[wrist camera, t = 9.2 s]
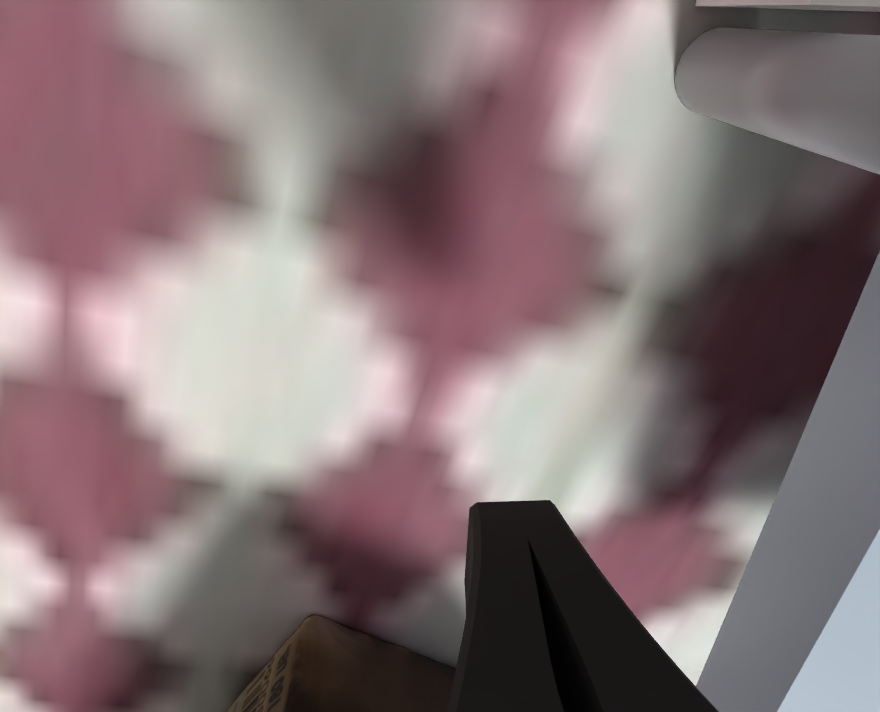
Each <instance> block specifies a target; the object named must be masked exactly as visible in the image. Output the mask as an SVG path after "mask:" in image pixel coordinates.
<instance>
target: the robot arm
mask: <svg viewBox="0 0 880 712" xmlns="http://www.w3.org/2000/svg"><path fill="white" fill-rule="evenodd" d="M465 597H466V621H465V627H464V632H463V637H462V642H461V647H460V652H459V657H458V662H457V667H456V672H455V677H454V681H453V686H452V690H451V694H450V698H449V702H448V706H447V710H446V712H719V711H718V710H717V709H716V708H715V707H714V706H713V705H712V704H711V703H710V702H709V701H708V699H707V698H706V697H705V696H704V695H703V694H702V693H701V692H700V691H699V690H698V689H697V688H696V686H695V685H694V684H693V683H692V682H691V681H690V680H689V679H688V678H687V676H686V675H685V674H684V673H683V672H682V671H681V670H680V669H679V667H678V666H677V665H676V664H675V663H674V662H673V660H672V659H671V658H670V657H669V656H668V655H667V654H666V652H665V651H664V650H663V649H662V648H661V647H660V645H659V644H658V643H657V642H656V641H655V640H654V638H653V637H652V636H651V635H650V633H649V632H648V631H647V630H646V629H645V627H644V626H643V625H642V624H641V623H640V621H639V620H638V619H637V618H636V616H635V615H634V614H633V612H632V611H631V610H630V609H629V607H628V606H627V605H626V604H625V602H624V601H623V600H622V598H621V597H620V596H619V595H618V593H617V592H616V591H615V590H614V588H613V587H612V586H611V584H610V583H609V582H608V580H607V579H606V578H605V576H604V575H603V574H602V572H601V571H600V570H599V568H598V567H597V566H596V564H595V563H594V561H593V560H592V559H591V557H590V556H589V554H588V553H587V552H586V550H585V549H584V547H583V546H582V545H581V543H580V542H579V540H578V539H577V537H576V536H575V535H574V533H573V532H572V530H571V529H570V527H569V526H568V524H567V523H566V521H565V520H564V518H563V517H562V515H561V514H560V512H559V511H558V509H557V508H556V506H555V505H554V504H553V503H552V502H551V501H550V500H540V501H509V502H477V503H476V504H474V505H473V506H472V507H470V510H469V525H468V539H467V553H466V568H465Z"/></svg>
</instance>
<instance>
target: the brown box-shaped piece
mask: <svg viewBox="0 0 880 712" xmlns="http://www.w3.org/2000/svg"><path fill="white" fill-rule="evenodd" d="M455 672H456V669H454V668H450V667H448V666H445V665H443V664H440V663H438V662H435V661H433V660H430V659H428V658H425V657H422V656H419V655H416V654H413V653H412V652H410V651H409V650H407V649H406V648H404V647H400V646H397V645H394V644H390V643H387V642H384V641H381V640H378V639H375V638H372V637H371V636H369V635H367V634H364V633H362V632H360V631H356V630H351V629H348V628H346V627H344V626H341V625H339V624H337V623H335V622H333V621H331V620H329V619H327V618H325V617H321V616H318V615H313V616H309V617H308V618H306V619H305V620H304V622H303V623H302V624H301V625H300V627H299V628H298V629H297V631H296V632H295V633H294V634H293V635H292V636H291V637H290V638H289V639H288V640H287V641H286V642H285V643H284V644H283V646H282V647H281V648H280V649H279V650H278V651H277V652H276V654H275V655H274V656H273V657H272V658H271V659H270V660H269V662H268V663H267V664H266V665H265V666H264V667H263V668H262V670H261V671H260V672H259V673H258V674H257V675H256V676H255V678H254V679H253V680H252V681H251V682H250V683H249V685H248V686H247V687H246V688H245V689H244V691H243V692H242V693H241V694H240V695H239V696H238V698H237V699H236V700H235V701H234V702H233V704H232V705H231V706H230V707H229V708H228V710H227V711H226V712H446V710H447V706H448V702H449V698H450V694H451V690H452V686H453V681H454V677H455Z"/></svg>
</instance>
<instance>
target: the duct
mask: <svg viewBox="0 0 880 712" xmlns="http://www.w3.org/2000/svg"><path fill="white" fill-rule="evenodd" d="M695 6H710V7H741V8H772V9H804V10H835V11H866V12H880V0H696V4H695ZM675 88H676V92H677V95H678V97H679V99H680V101H681V102H682V104H683V105H684V106H685V107H686V108H688V109H689V110H691V111H693V112H695V113H698V114H701V115H704V116H707V117H710V118H713V119H716V120H719V121H722V122H725V123H728V124H731V125H734V126H737V127H740V128H743V129H746V130H749V131H752V132H755V133H758V134H761V135H764V136H767V137H769V138H772V139H775V140H778V141H781V142H784V143H787V144H790V145H793V146H796V147H799V148H802V149H805V150H808V151H811V152H814V153H817V154H820V155H823V156H826V157H829V158H832V159H835V160H838V161H841V162H844V163H846V164H849V165H852V166H855V167H858V168H861V169H864V170H867V171H870V172H873V173H876V174H879V175H880V35H864V34H844V33H825V32H806V31H787V30H767V29H748V28H729V27H719V28H714V29H711V30H708V31H706V32H704V33H703V34H701V35H699V36H698V37H697V38H696V39H694V40H693V41H692V42H691V43H690V44H689V46H688V47H687V48H686V49H685V51H684V53H683V54H682V56H681V58H680V60H679V63H678V65H677V69H676V74H675Z"/></svg>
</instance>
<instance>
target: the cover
mask: <svg viewBox="0 0 880 712" xmlns="http://www.w3.org/2000/svg"><path fill="white" fill-rule="evenodd" d="M696 688H697V689H698V690H699V691H700V692H701V693H702V694H703V695H704V696H705V697H706V698H707V699H708V701H709V702H710V703H711V704H712V705H713V706H714V707H715V708H716V709H717V710H718V711H719V712H880V251H879V254H878V256H877V259H876V261H875V263H874V266H873V268H872V270H871V273H870V275H869V278H868V280H867V282H866V285H865V287H864V289H863V292H862V294H861V297H860V299H859V301H858V304H857V306H856V308H855V311H854V313H853V315H852V318H851V320H850V323H849V325H848V327H847V330H846V332H845V334H844V337H843V339H842V342H841V344H840V346H839V349H838V351H837V353H836V356H835V358H834V361H833V363H832V365H831V368H830V370H829V372H828V375H827V377H826V380H825V382H824V384H823V387H822V389H821V391H820V394H819V396H818V398H817V401H816V403H815V406H814V408H813V410H812V413H811V415H810V417H809V420H808V422H807V425H806V427H805V429H804V432H803V434H802V436H801V439H800V441H799V444H798V446H797V448H796V451H795V453H794V455H793V458H792V460H791V462H790V465H789V467H788V470H787V472H786V474H785V477H784V479H783V481H782V484H781V486H780V489H779V491H778V493H777V496H776V498H775V500H774V503H773V505H772V508H771V510H770V512H769V515H768V517H767V519H766V522H765V524H764V526H763V529H762V531H761V534H760V536H759V538H758V541H757V543H756V545H755V548H754V550H753V553H752V555H751V557H750V560H749V562H748V564H747V567H746V569H745V572H744V574H743V576H742V579H741V581H740V583H739V586H738V588H737V590H736V593H735V595H734V598H733V600H732V602H731V605H730V607H729V609H728V612H727V614H726V617H725V619H724V621H723V624H722V626H721V628H720V631H719V633H718V636H717V638H716V640H715V643H714V645H713V647H712V650H711V652H710V654H709V657H708V659H707V662H706V664H705V666H704V669H703V671H702V673H701V676H700V678H699V681H698V683H697V685H696Z"/></svg>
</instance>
